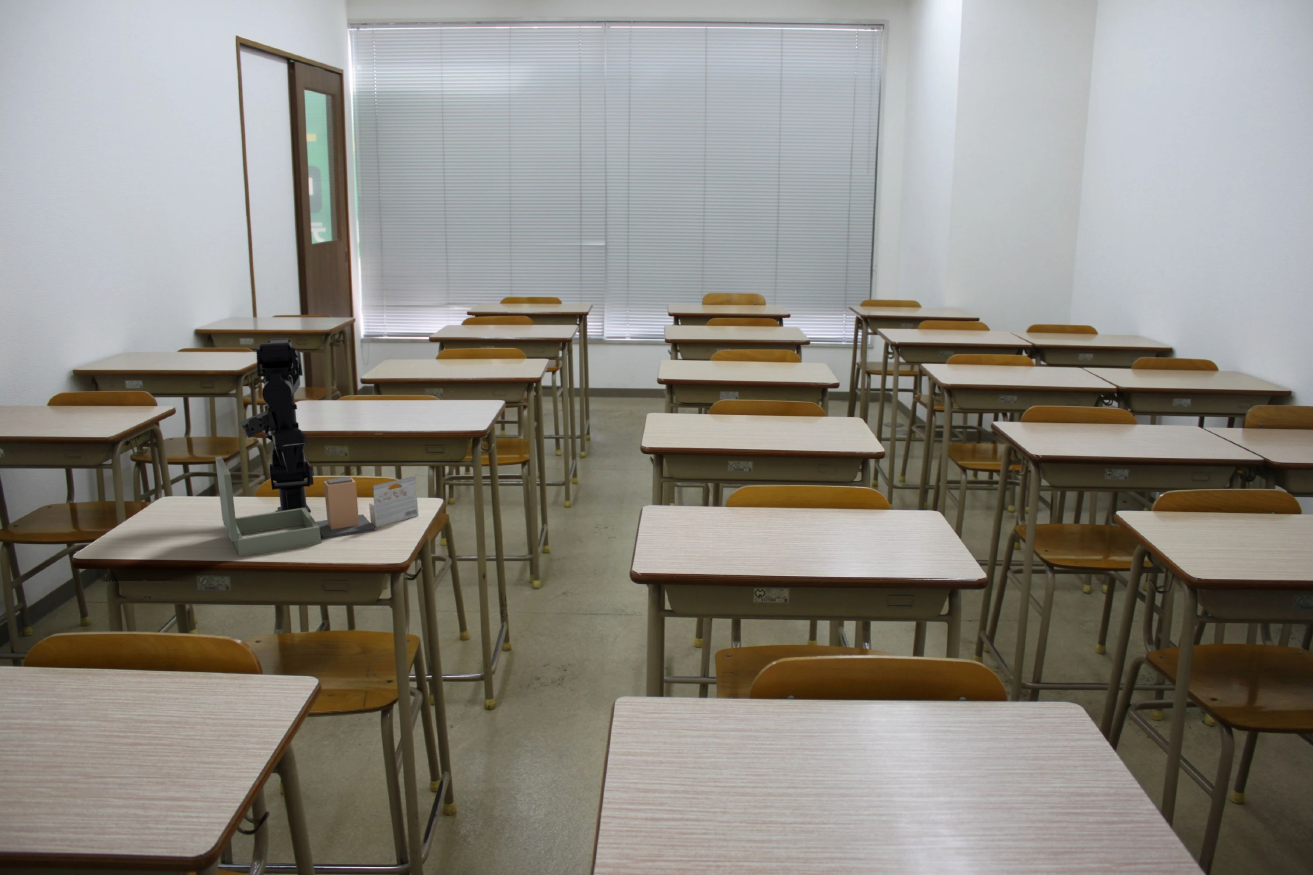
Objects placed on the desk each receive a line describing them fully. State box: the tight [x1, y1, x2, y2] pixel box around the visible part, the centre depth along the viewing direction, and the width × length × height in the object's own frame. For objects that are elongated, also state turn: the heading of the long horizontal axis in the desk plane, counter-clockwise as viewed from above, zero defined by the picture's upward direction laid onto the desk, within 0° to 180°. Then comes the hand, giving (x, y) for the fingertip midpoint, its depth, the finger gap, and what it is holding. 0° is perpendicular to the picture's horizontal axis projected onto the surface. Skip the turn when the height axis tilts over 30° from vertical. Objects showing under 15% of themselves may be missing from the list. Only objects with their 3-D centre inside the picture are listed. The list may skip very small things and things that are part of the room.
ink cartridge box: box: [368, 475, 419, 528], centre depth 218 cm, size 2×11×10 cm, turn 136°
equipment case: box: [214, 456, 322, 557], centre depth 205 cm, size 16×17×18 cm
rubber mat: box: [315, 513, 376, 539], centre depth 214 cm, size 11×11×1 cm
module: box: [323, 476, 359, 530], centre depth 213 cm, size 4×6×10 cm, turn 120°
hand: (287, 469), depth 212 cm, fingers open, 9 cm apart
